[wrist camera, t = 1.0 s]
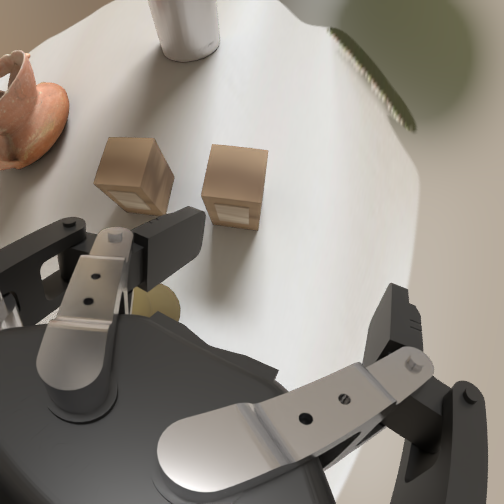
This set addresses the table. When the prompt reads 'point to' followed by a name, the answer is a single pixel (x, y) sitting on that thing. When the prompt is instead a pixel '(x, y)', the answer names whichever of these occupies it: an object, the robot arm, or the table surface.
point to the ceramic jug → (28, 113)
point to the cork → (156, 302)
